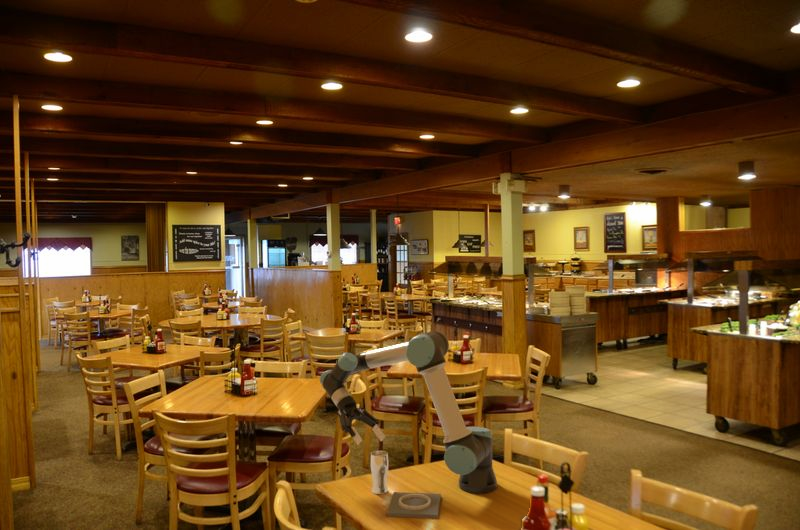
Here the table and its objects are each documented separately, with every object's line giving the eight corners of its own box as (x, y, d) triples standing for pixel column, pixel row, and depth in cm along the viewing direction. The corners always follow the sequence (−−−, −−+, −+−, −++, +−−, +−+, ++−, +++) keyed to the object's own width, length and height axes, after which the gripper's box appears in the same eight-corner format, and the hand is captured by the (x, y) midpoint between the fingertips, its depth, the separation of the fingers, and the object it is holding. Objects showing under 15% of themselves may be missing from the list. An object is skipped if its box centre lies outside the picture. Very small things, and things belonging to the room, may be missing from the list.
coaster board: (440, 497, 223) (440, 491, 223) (437, 518, 205) (437, 512, 205) (393, 495, 225) (393, 489, 225) (386, 516, 207) (386, 509, 207)
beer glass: (386, 495, 225) (386, 456, 225) (369, 494, 226) (368, 455, 226) (390, 488, 232) (389, 450, 231) (373, 487, 233) (372, 449, 233)
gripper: (360, 406, 253) (387, 444, 241) (317, 409, 234) (344, 450, 222) (369, 393, 251) (397, 431, 239) (326, 395, 232) (354, 436, 220)
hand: (371, 440), depth 231 cm, fingers open, 13 cm apart
